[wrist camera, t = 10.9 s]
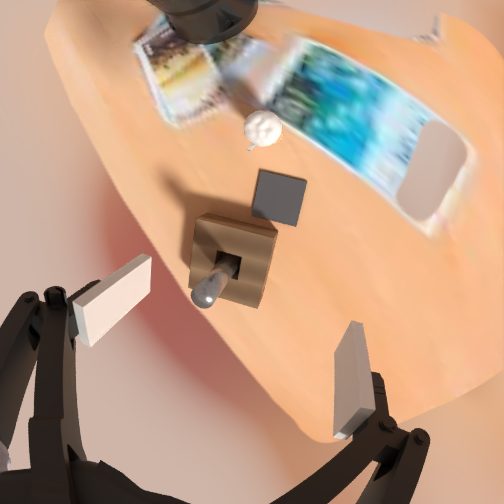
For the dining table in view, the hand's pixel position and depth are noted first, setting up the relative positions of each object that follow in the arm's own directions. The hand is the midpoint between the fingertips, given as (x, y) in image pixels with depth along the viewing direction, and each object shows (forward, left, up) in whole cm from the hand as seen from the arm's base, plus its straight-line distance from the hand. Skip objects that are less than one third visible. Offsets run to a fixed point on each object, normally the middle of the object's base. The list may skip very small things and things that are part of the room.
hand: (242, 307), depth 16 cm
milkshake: (-11, -5, -27) cm, 30 cm away
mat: (-2, -2, -27) cm, 27 cm away
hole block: (+9, -7, -27) cm, 29 cm away
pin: (+9, -7, -27) cm, 29 cm away
